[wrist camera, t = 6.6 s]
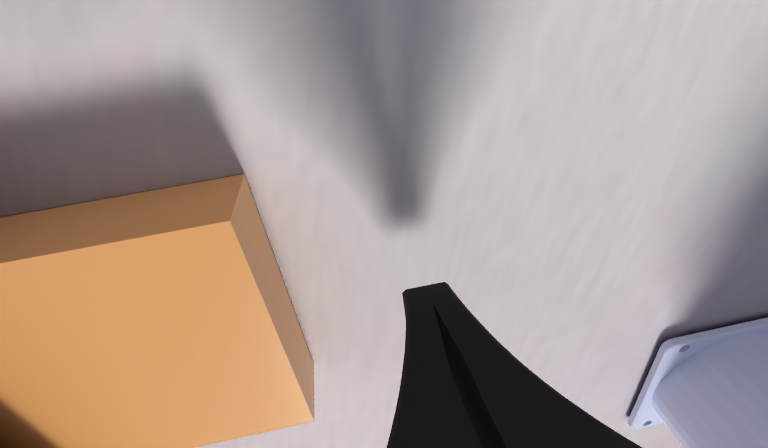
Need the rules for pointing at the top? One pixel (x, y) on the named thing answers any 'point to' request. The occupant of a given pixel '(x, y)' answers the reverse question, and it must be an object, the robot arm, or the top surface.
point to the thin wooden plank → (147, 323)
